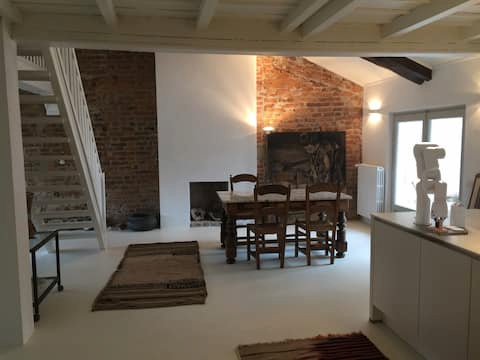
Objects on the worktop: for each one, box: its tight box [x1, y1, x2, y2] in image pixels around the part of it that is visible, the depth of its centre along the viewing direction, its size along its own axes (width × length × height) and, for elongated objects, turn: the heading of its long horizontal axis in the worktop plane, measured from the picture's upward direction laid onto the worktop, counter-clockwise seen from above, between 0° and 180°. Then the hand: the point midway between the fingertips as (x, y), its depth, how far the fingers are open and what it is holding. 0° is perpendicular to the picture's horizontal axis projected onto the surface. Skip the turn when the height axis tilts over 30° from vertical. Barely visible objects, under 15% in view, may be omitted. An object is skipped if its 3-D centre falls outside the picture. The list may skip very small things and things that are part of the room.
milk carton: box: [449, 199, 467, 228], centre depth 291 cm, size 7×7×19 cm
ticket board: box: [425, 225, 469, 236], centre depth 275 cm, size 16×20×3 cm
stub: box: [428, 218, 448, 232], centre depth 274 cm, size 12×6×7 cm, turn 10°
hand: (438, 227), depth 274 cm, fingers closed on stub, 2 cm apart
